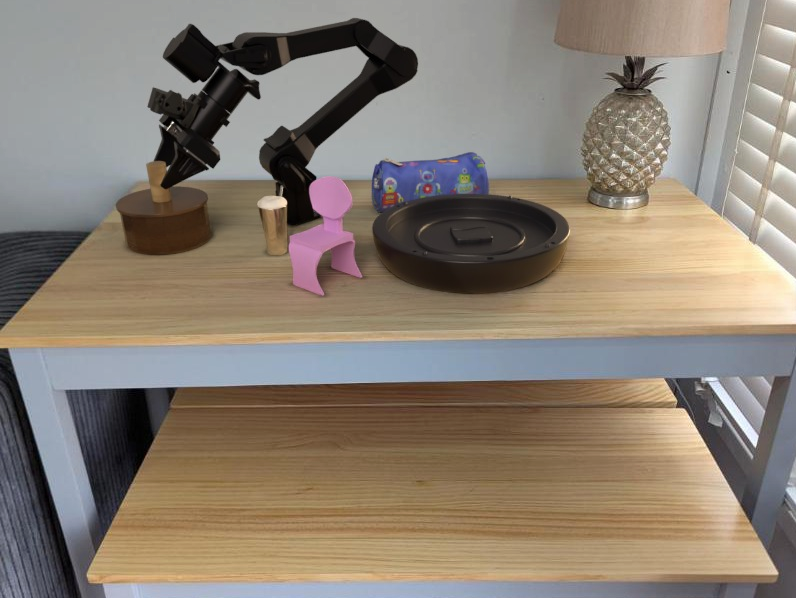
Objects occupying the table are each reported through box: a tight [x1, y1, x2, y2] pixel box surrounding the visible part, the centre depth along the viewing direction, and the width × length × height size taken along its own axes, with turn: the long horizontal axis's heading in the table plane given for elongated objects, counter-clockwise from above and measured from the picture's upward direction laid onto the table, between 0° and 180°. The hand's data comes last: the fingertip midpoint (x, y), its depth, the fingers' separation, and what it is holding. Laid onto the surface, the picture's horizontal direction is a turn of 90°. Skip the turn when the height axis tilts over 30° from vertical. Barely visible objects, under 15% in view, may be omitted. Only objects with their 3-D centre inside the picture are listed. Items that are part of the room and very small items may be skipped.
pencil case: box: [371, 151, 490, 213], centre depth 140 cm, size 22×9×10 cm, turn 104°
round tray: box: [371, 193, 571, 294], centre depth 120 cm, size 30×6×30 cm
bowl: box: [119, 202, 212, 256], centre depth 129 cm, size 14×14×6 cm
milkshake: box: [257, 185, 288, 256], centre depth 123 cm, size 5×5×10 cm
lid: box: [115, 160, 209, 218], centre depth 126 cm, size 15×15×7 cm
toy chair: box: [288, 175, 364, 297], centre depth 110 cm, size 8×9×15 cm
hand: (157, 180), depth 125 cm, fingers open, 9 cm apart
